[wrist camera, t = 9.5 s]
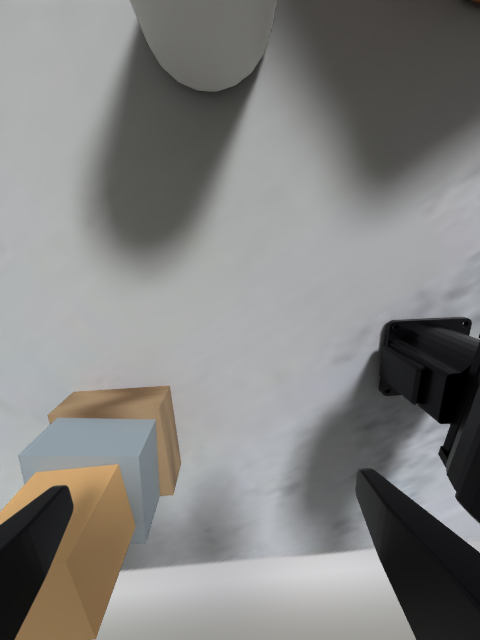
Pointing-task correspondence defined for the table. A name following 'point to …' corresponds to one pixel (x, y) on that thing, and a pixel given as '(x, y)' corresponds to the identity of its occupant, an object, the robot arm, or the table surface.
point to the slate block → (103, 458)
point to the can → (206, 38)
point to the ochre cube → (79, 552)
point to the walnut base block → (133, 407)
